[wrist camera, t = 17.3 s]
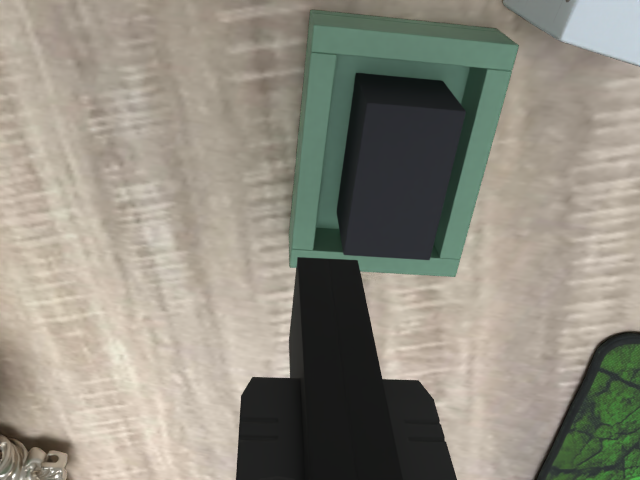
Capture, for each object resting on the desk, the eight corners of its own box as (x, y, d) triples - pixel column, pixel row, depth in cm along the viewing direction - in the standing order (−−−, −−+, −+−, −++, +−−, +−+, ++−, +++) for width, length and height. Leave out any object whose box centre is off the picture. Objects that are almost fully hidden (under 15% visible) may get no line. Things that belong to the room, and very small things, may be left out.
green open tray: (310, 9, 29) (313, 24, 26) (497, 28, 30) (519, 45, 27) (288, 236, 36) (289, 267, 33) (442, 245, 37) (455, 277, 34)
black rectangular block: (355, 72, 30) (366, 102, 26) (443, 80, 31) (466, 111, 27) (336, 212, 34) (343, 255, 30) (413, 217, 35) (430, 260, 31)
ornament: (104, 472, 46) (92, 516, 43) (31, 500, 47) (14, 545, 44) (35, 408, 42) (16, 451, 39) (-43, 440, 43) (-68, 484, 40)
